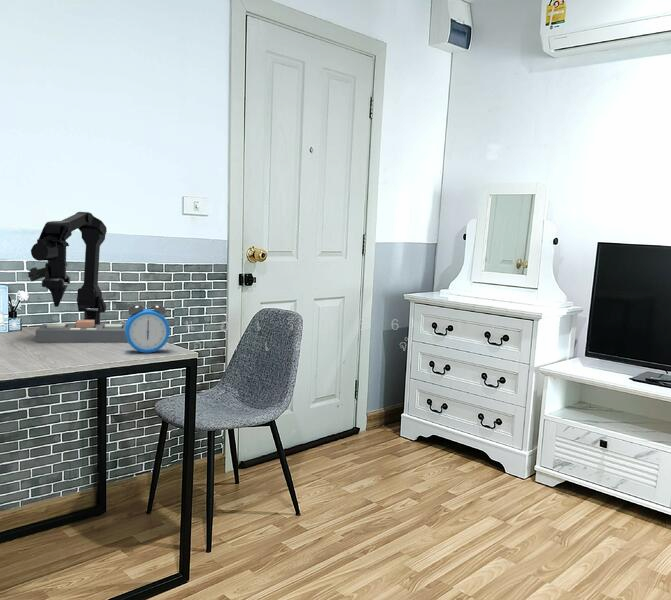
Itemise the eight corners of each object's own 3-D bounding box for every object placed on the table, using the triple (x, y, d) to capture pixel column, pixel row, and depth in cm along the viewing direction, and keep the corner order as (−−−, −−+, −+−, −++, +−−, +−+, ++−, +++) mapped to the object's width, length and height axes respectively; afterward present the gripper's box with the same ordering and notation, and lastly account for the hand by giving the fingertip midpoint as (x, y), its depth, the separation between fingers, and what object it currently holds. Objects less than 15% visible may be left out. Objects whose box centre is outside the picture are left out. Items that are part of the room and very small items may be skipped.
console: (42, 335, 211) (42, 323, 211) (129, 336, 219) (129, 324, 219) (35, 342, 199) (35, 329, 198) (127, 342, 207) (127, 330, 206)
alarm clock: (125, 354, 188) (126, 305, 186) (124, 350, 193) (124, 302, 192) (169, 353, 193) (170, 305, 191) (167, 349, 198) (168, 303, 197)
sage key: (105, 333, 215) (105, 323, 214) (121, 334, 216) (122, 324, 216) (104, 336, 209) (104, 326, 209) (121, 336, 211) (121, 326, 211)
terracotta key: (77, 329, 212) (77, 319, 212) (94, 329, 213) (94, 319, 213) (75, 332, 207) (75, 321, 206) (92, 332, 208) (93, 322, 208)
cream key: (49, 333, 210) (49, 323, 209) (66, 333, 211) (66, 323, 211) (46, 336, 204) (46, 325, 204) (64, 336, 206) (64, 326, 206)
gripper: (35, 257, 212) (35, 303, 213) (24, 260, 194) (24, 309, 195) (70, 259, 215) (70, 303, 216) (62, 261, 197) (62, 310, 199)
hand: (56, 306), depth 207 cm, fingers closed
